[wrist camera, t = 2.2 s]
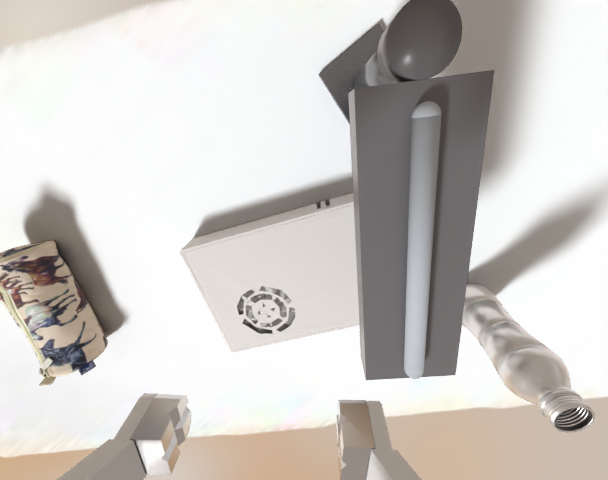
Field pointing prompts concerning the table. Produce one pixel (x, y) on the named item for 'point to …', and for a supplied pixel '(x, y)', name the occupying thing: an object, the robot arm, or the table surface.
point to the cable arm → (416, 193)
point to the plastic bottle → (524, 361)
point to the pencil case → (50, 310)
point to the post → (354, 70)
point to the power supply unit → (280, 274)
